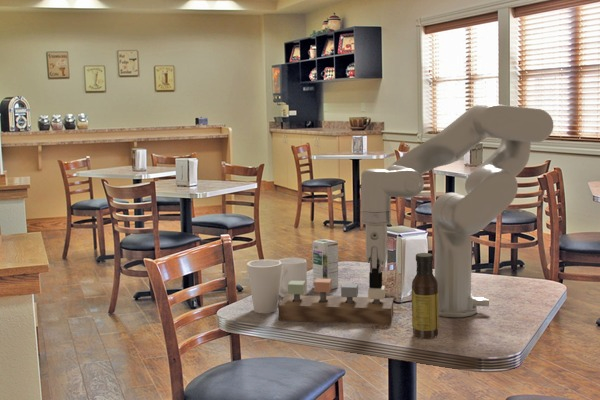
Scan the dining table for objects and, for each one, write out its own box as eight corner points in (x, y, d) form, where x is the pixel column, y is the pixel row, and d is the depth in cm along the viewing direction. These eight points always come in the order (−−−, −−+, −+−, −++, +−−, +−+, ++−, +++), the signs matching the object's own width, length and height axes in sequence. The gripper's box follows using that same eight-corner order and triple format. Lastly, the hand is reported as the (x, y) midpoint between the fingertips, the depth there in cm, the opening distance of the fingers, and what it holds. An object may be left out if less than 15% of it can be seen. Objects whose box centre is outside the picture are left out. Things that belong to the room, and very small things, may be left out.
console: (393, 312, 198) (393, 298, 198) (391, 324, 189) (391, 308, 188) (286, 309, 203) (285, 295, 203) (278, 320, 194) (278, 305, 193)
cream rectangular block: (385, 310, 196) (384, 285, 195) (384, 314, 192) (383, 289, 191) (369, 309, 196) (369, 285, 195) (368, 314, 192) (368, 289, 192)
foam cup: (244, 314, 200) (243, 266, 198) (251, 304, 209) (250, 259, 207) (280, 315, 198) (278, 267, 196) (285, 305, 207) (284, 259, 206)
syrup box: (312, 288, 226) (311, 240, 224) (326, 284, 230) (325, 238, 228) (325, 291, 221) (324, 243, 219) (339, 287, 225) (338, 240, 223)
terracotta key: (331, 303, 198) (331, 278, 197) (329, 307, 194) (329, 282, 193) (316, 302, 199) (316, 278, 198) (314, 306, 195) (314, 282, 194)
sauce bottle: (423, 329, 184) (423, 250, 181) (443, 335, 179) (444, 253, 177) (406, 335, 179) (406, 254, 177) (427, 341, 175) (427, 258, 172)
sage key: (305, 305, 199) (305, 280, 198) (303, 309, 195) (302, 284, 194) (291, 304, 200) (290, 280, 199) (288, 308, 196) (287, 284, 195)
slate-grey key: (358, 308, 197) (358, 283, 196) (356, 312, 193) (356, 287, 192) (343, 307, 197) (342, 283, 197) (341, 311, 194) (341, 287, 193)
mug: (291, 303, 209) (290, 267, 208) (266, 300, 213) (265, 264, 212) (312, 293, 219) (311, 259, 218) (287, 290, 224) (287, 256, 222)
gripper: (389, 222, 183) (388, 295, 185) (392, 213, 197) (391, 280, 200) (358, 221, 184) (358, 294, 186) (363, 212, 199) (363, 280, 201)
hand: (375, 287), depth 193 cm, fingers closed
